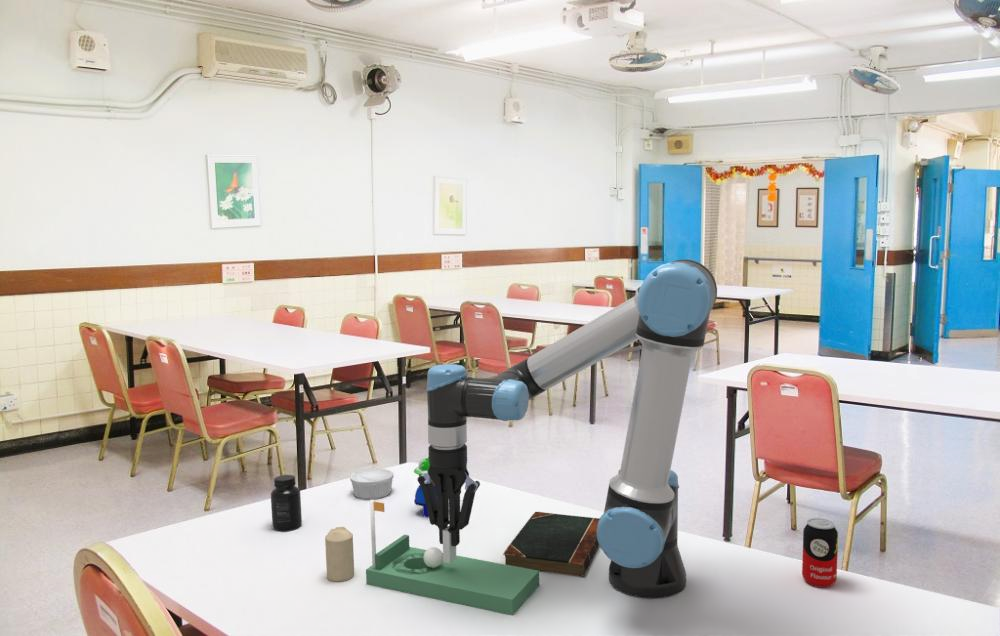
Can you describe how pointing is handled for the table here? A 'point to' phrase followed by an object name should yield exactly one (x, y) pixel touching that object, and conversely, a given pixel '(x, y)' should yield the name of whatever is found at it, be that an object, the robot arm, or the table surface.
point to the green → (449, 576)
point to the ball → (433, 557)
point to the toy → (419, 493)
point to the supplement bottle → (286, 504)
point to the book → (555, 544)
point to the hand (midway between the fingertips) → (449, 559)
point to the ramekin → (372, 483)
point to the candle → (339, 554)
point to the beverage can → (820, 552)
